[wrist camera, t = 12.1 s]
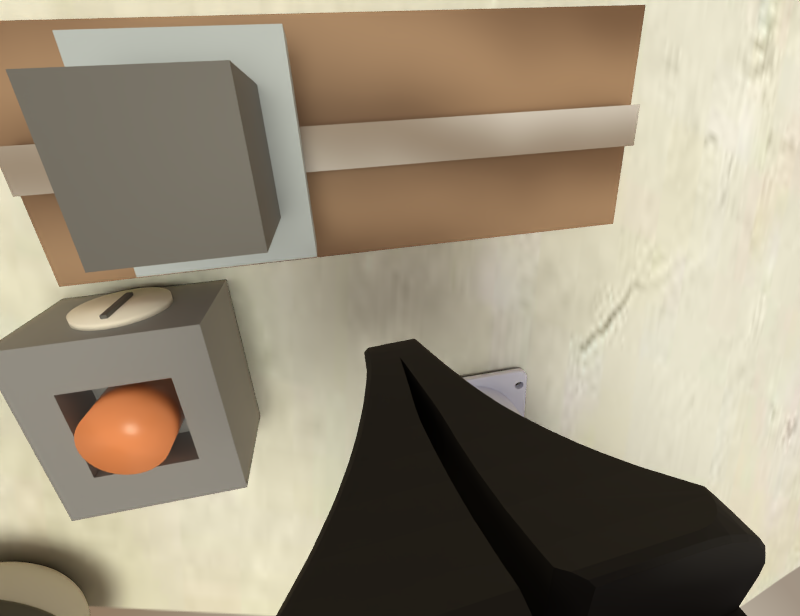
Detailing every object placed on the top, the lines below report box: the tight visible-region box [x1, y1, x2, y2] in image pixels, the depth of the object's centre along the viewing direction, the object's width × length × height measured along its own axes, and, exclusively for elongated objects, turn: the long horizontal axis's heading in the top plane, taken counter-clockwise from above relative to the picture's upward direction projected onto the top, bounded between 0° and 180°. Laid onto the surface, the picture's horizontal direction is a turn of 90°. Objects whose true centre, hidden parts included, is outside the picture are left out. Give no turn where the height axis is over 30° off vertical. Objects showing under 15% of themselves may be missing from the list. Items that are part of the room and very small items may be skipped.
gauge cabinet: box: [0, 280, 260, 521], centre depth 18 cm, size 8×7×5 cm
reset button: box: [74, 378, 185, 475], centre depth 16 cm, size 3×3×2 cm
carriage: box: [5, 24, 317, 277], centre depth 12 cm, size 7×6×6 cm
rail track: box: [0, 5, 645, 287], centre depth 17 cm, size 9×25×3 cm, turn 94°
